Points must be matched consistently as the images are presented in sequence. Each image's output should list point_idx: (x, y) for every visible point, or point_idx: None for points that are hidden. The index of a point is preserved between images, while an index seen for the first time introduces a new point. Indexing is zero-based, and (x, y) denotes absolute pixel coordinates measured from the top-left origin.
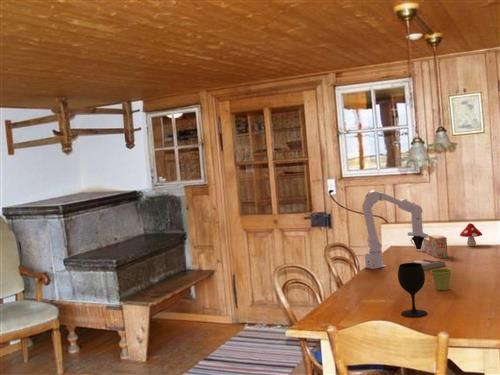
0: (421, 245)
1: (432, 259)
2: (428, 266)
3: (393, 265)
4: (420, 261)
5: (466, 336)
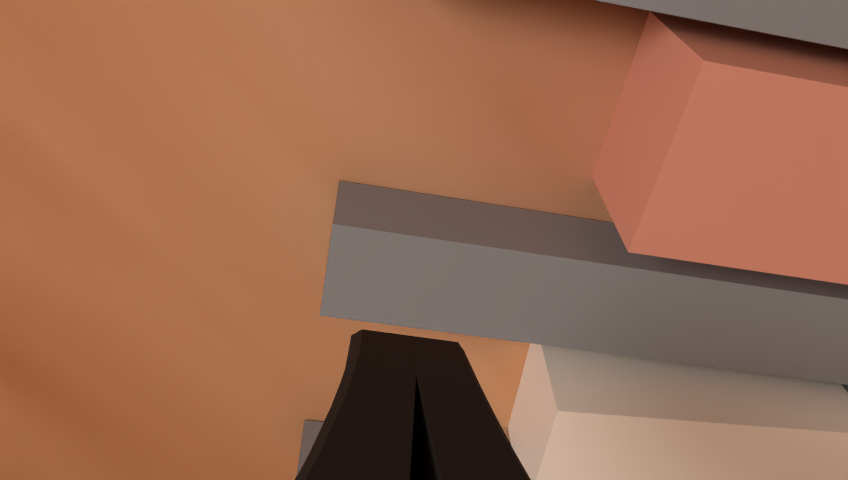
0: (513, 456)
1: (838, 180)
2: None
3: (44, 449)
4: (643, 457)
5: None
